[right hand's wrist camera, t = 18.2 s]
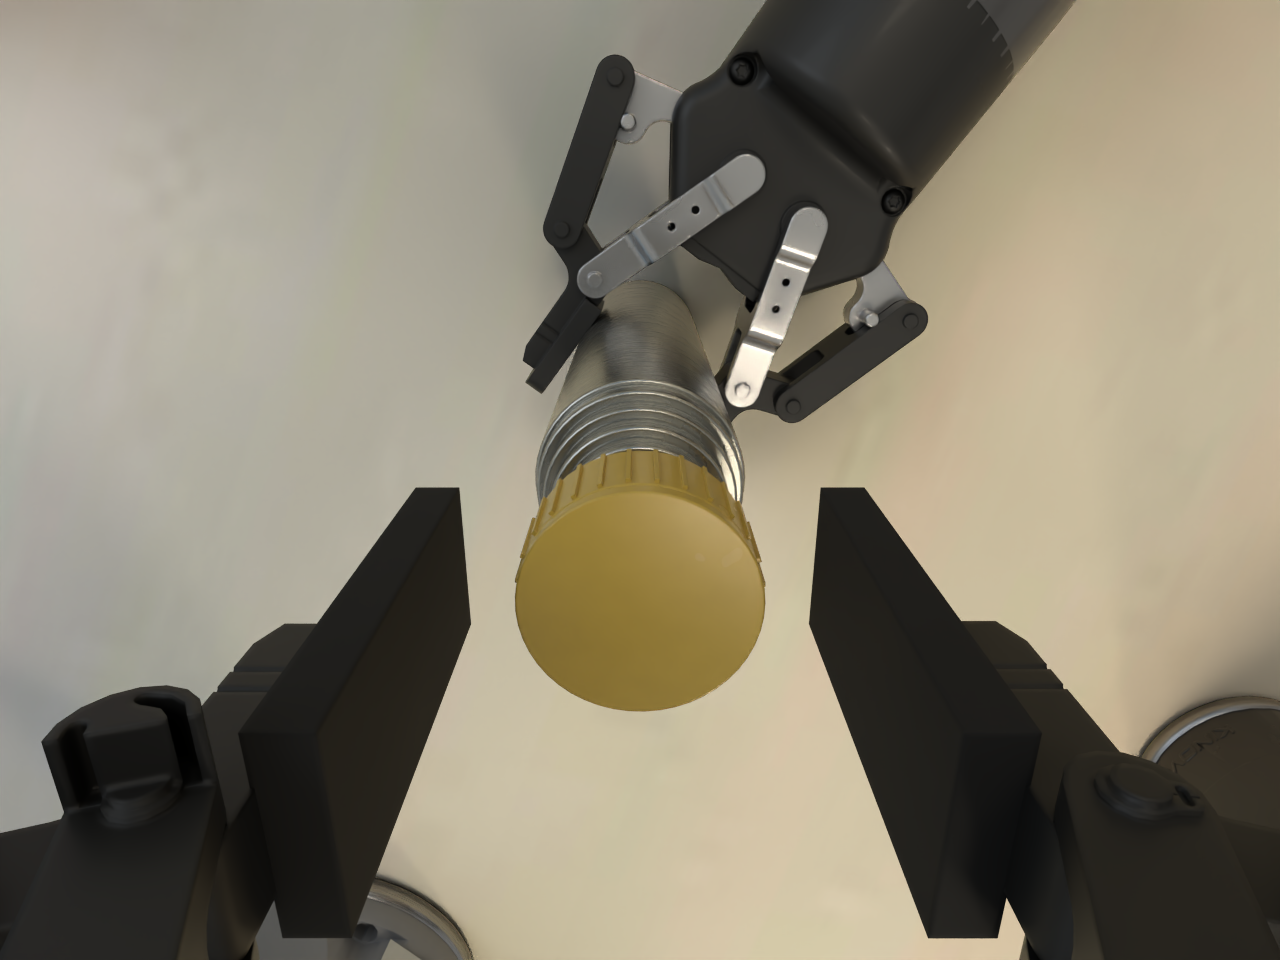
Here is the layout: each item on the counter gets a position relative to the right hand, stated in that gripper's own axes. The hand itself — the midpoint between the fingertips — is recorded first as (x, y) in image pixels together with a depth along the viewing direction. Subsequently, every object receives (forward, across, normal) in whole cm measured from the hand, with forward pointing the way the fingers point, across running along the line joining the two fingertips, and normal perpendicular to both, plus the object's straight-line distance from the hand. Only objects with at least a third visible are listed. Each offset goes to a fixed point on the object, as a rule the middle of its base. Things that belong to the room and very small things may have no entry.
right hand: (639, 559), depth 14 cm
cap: (-1, 0, 0) cm, 1 cm away
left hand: (+15, -2, -2) cm, 16 cm away
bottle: (+21, 0, 0) cm, 21 cm away
